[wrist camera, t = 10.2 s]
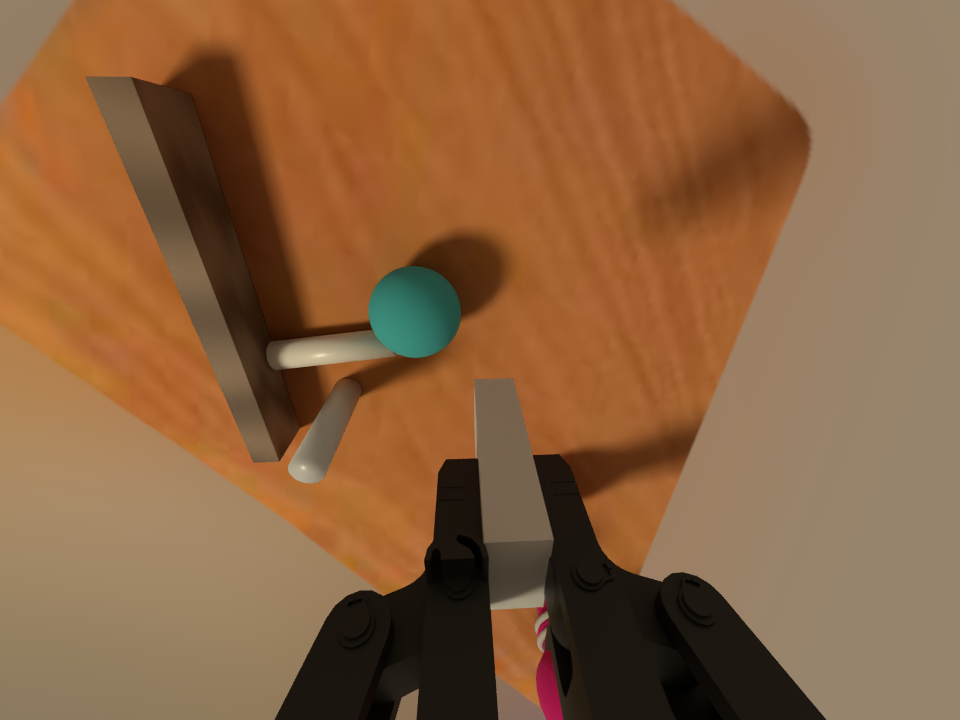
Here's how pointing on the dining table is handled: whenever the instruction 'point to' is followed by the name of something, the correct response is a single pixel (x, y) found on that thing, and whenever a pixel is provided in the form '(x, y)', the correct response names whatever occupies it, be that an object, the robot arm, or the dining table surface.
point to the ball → (414, 311)
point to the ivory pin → (326, 350)
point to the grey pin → (325, 433)
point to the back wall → (200, 250)
